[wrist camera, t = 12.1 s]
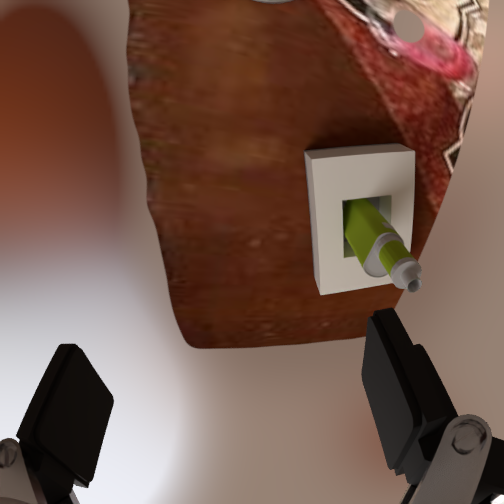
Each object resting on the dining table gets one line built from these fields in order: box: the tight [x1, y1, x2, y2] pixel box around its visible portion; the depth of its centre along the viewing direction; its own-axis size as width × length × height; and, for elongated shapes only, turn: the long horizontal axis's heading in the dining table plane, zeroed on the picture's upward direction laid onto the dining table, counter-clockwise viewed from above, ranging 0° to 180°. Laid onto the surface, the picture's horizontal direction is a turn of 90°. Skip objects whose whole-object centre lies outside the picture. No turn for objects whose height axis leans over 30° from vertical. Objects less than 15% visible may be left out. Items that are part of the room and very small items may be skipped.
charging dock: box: [304, 143, 415, 295], centre depth 44 cm, size 20×14×5 cm
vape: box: [342, 198, 422, 292], centre depth 37 cm, size 4×6×20 cm, turn 161°
